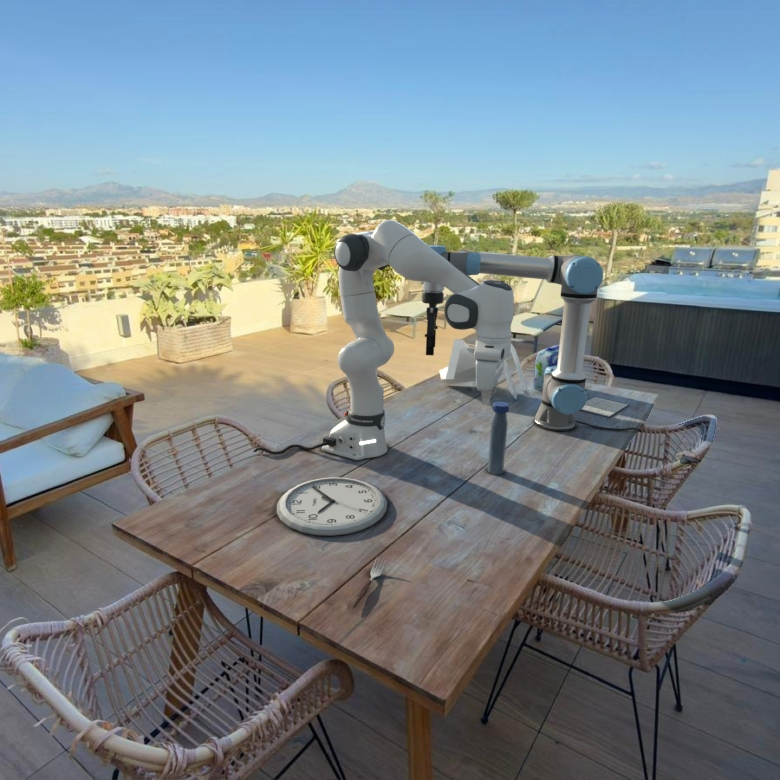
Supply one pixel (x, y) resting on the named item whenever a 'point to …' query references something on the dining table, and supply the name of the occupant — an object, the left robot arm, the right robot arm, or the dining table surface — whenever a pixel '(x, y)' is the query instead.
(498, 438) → the bottle
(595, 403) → the invitation card
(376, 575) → the fork
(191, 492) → the dining table surface
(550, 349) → the lunch box
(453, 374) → the white plastic object
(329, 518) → the wall clock
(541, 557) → the dining table surface
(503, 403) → the cap
